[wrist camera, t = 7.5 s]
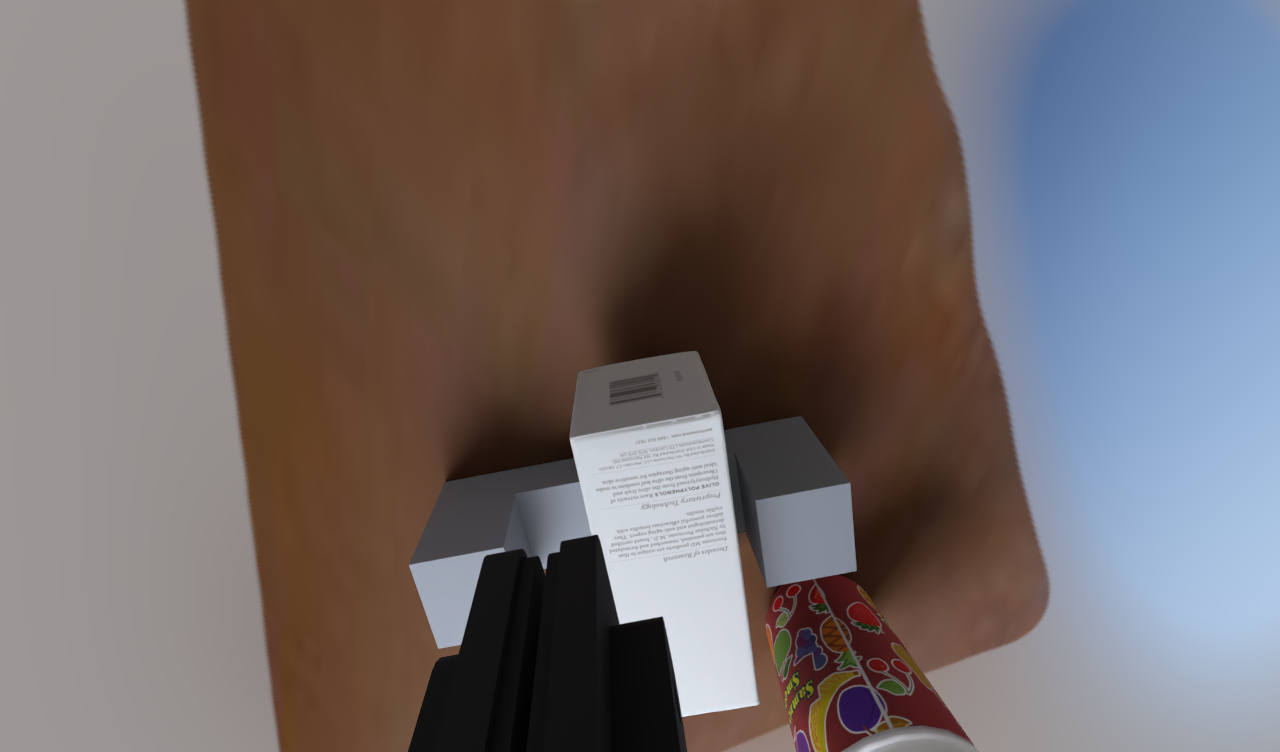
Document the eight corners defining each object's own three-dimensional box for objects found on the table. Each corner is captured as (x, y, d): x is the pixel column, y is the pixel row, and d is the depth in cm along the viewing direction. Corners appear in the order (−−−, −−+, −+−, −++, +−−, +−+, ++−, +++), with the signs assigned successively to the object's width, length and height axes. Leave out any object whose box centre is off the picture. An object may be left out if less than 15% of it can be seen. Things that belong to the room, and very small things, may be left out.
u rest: (445, 481, 39) (408, 565, 31) (801, 415, 39) (850, 482, 31) (467, 553, 41) (438, 648, 33) (808, 490, 41) (856, 570, 33)
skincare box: (696, 344, 34) (735, 591, 39) (567, 369, 34) (625, 611, 40) (724, 413, 26) (768, 709, 32) (557, 444, 26) (630, 733, 32)
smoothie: (731, 577, 42) (839, 929, 24) (856, 531, 42) (1069, 854, 23) (770, 672, 45) (895, 1054, 26) (889, 630, 45) (1102, 990, 26)
